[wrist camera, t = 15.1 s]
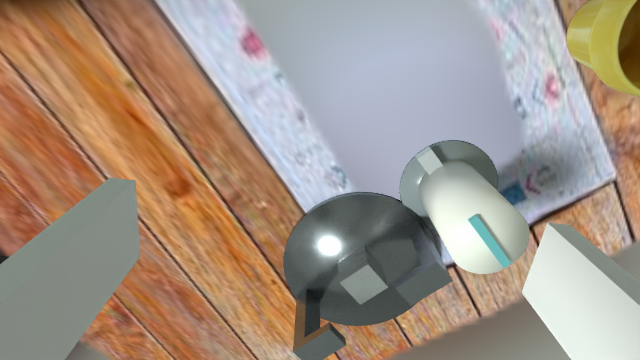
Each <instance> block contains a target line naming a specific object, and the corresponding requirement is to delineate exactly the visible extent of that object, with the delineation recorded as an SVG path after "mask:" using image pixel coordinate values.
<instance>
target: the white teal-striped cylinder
mask: <svg viewBox="0 0 640 360" xmlns="http://www.w3.org/2000/svg"><path fill="white" fill-rule="evenodd" d="M415 157H416V158H417V160H418V161H419V162H420V164H421V165H422V166H423V168H424V169H425V170H426V173H425V174H424V175H423V177H422V179H421V181H420V184H419V191H418V193H419V198H420V201H421V203H422V205H423V207H424V208H425V210H426V212H427V214H428V216H429V217H430V219H431V221H432V223H433V225H434V226H435V228H436V230H437V232H438V233H439V235H440V237H441V239H442V241H443V242H444V244H445V246H446V248H447V250H448V251H449V253H450V255H451V257H452V259H453V260H454V262H455V263H456V264H457V265H458V266H460V267H461V268H462V269H464V270H466V271H469V272H472V273H477V274H489V273H494V272H498V271H500V270H503V269H505V268H507V267H509V266H510V265H512V264H513V263H514V262H515V261H517V260H518V258H519V257H520V256H521V255H522V254H523V252H524V251H525V249H526V247H527V244H528V241H529V227H528V224H527V221H526V220H525V218H524V217H523V216H522V214H521V213H520V212H519V211H517V210H516V209H515V208H514V207H513V206H512V205H511V204H510V203H509V202H508V201H507V200H506V199H505V198H504V197H503V196H502V195H501V194H500V193H499V192H498V191H497V190H496V189H495V188H494V187H493V186H492V185H491V184H490V183H489V182H488V181H487V180H486V179H485V178H484V177H483V176H482V175H480V174H479V173H478V172H477V171H476V170H475V169H474V168H473V167H472V166H471V165H470V164H468V163H466V162H464V161H461V160H445V161H442V162H440V160H439V159H438V158H437V156H436V155H435V154H434V152H433V151H432V149H431V148H430V147H429V146H428V147H427V148H425V149H424V150H422V151H421V152H419V153H418V154H417V155H415Z"/></svg>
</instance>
